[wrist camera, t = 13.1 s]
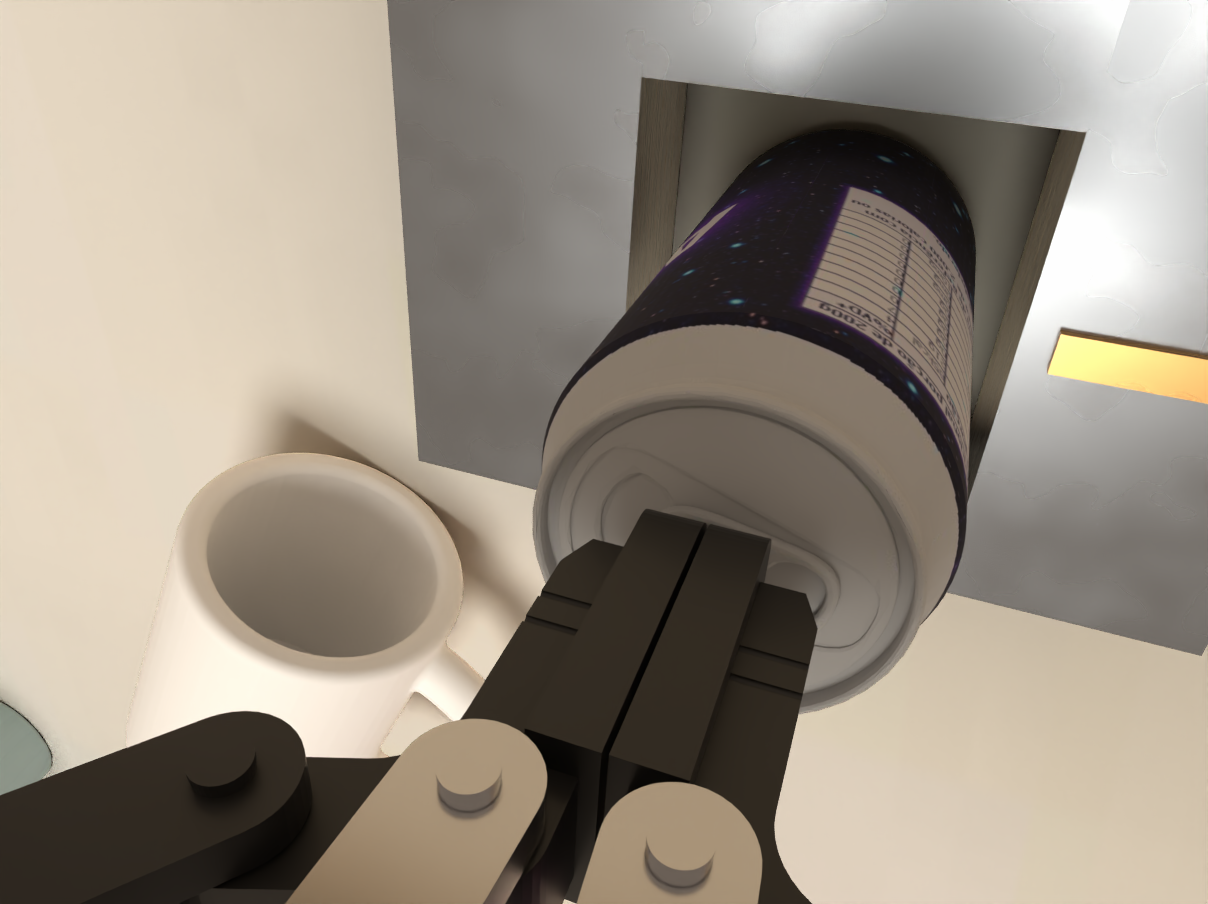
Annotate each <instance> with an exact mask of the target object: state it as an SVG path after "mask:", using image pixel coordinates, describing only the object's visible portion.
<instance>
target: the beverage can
mask: <svg viewBox="0 0 1208 904" xmlns="http://www.w3.org/2000/svg"><path fill="white" fill-rule="evenodd" d="M975 266H976V248H975V238H974V232H973V228H972V224H971V220H970V217H969V214H968V211H967V209H966V207H965V205H964V202H963V200H962V198H961V197H960V195H959V193H958V191H957V190H956V188H955V187H954V186H953V184H952V183H951V181H950V180H949V179H948V178H947V177H946V175H945V174H944V173H943V172H942V171H941V170H940V169H939V168H938V167H937V166H936V165H935V164H934V163H933V162H931V161H930V160H929V159H928V158H927V157H925V156H924V155H922V154H921V153H919V152H918V151H916V150H915V149H913V148H911V147H910V146H908V145H906V144H904V143H902V142H899V141H897V140H894V139H892V138H889V137H886V136H883V135H880V134H876V133H871V132H866V131H858V130H827V131H820V132H814V133H809V134H806V135H802V136H799V137H796V138H793V139H791V140H788V141H786V142H784V143H782V144H779V145H777V146H776V147H774V148H772V149H770V150H769V151H767V152H766V153H764V154H763V155H761V156H760V157H758V158H757V159H756V160H755V161H753V162H752V163H751V164H750V165H749V166H748V167H747V168H746V169H745V170H744V171H743V172H742V173H741V174H740V175H739V176H738V177H737V178H736V179H735V181H734V182H733V183H732V184H731V186H730V187H729V188H728V189H727V190H726V192H725V193H724V194H723V195H722V196H721V198H720V199H719V200H718V201H717V203H716V204H715V205H714V206H713V207H712V209H711V210H710V211H709V212H708V213H707V215H706V216H705V217H704V218H703V220H702V221H701V222H700V223H699V224H698V226H697V227H696V228H695V229H694V230H693V232H692V233H691V234H690V235H689V237H688V238H687V239H686V240H685V241H684V243H683V244H682V245H681V246H680V247H679V249H678V250H677V251H676V252H675V254H674V255H673V256H672V257H671V258H670V260H669V261H668V262H667V263H666V264H665V266H664V267H663V268H662V269H661V271H660V272H659V273H658V274H657V275H656V277H655V278H654V279H653V280H652V281H651V283H650V284H649V285H648V286H647V288H646V289H645V290H644V291H643V292H642V294H641V295H640V296H639V297H638V298H637V300H636V301H635V302H634V303H633V305H632V306H631V307H630V308H629V309H628V311H627V312H626V313H625V314H624V315H623V317H622V318H621V319H620V320H619V321H618V323H617V324H616V325H615V326H614V328H613V329H612V330H611V331H610V332H609V334H608V335H607V336H606V337H605V338H604V340H603V341H602V342H601V343H600V345H599V346H598V347H597V348H596V349H595V351H594V352H593V353H592V354H591V355H590V357H589V358H588V359H587V360H586V362H585V363H584V364H583V365H582V366H581V368H580V369H579V370H578V371H577V372H576V374H575V375H574V376H573V378H572V379H571V380H570V381H569V383H568V384H567V386H566V387H565V389H564V390H563V392H562V393H561V395H560V397H559V399H558V401H557V403H556V405H555V407H554V409H553V412H552V414H551V417H550V419H549V422H548V426H547V429H546V433H545V438H544V443H543V451H542V475H541V477H540V480H539V484H538V487H537V490H536V496H535V501H534V507H533V539H534V545H535V550H536V556H537V560H538V563H539V566H540V569H541V572H542V575H543V578H544V581H545V583H547V581H548V579H549V578H550V576H551V575H552V573H553V571H554V570H555V568H556V567H557V565H558V563H559V562H560V560H562V559H563V558H565V557H566V556H568V555H569V554H571V553H572V552H574V551H575V550H577V549H578V548H580V547H581V546H583V545H584V544H586V543H587V542H589V541H590V540H592V539H596V540H600V541H604V542H608V543H612V544H616V545H620V546H623V547H624V545H625V543H626V541H627V539H628V538H629V536H630V534H631V532H632V530H633V528H634V527H635V525H636V523H637V521H638V519H639V517H640V516H641V514H642V512H643V511H644V510H645V509H651V510H656V511H660V512H664V513H668V514H672V515H676V516H680V517H684V518H688V519H692V520H696V521H700V522H704V523H706V524H707V528H708V526H709V525H710V524H713V525H717V526H721V527H725V528H729V529H734V530H738V531H742V532H746V533H750V534H754V535H758V536H762V537H766V538H770V539H771V549H770V555H769V561H768V566H767V571H766V577H765V582H764V583H767V584H771V585H775V586H779V587H782V588H786V589H790V590H794V591H798V592H802V593H806V595H807V598H808V601H809V604H810V607H811V610H812V613H813V616H814V619H815V622H816V625H817V628H818V630H817V635H816V639H815V644H814V648H813V652H812V657H811V661H810V665H809V670H808V674H807V678H806V683H805V687H804V691H803V696H802V700H801V705H800V709H799V713H798V714H803V713H808V712H814V711H819V710H822V709H825V708H828V707H831V706H834V705H836V704H839V703H842V702H845V701H847V700H849V699H850V698H852V697H854V696H856V695H858V694H860V693H862V692H864V691H866V690H867V689H869V688H870V687H871V686H872V685H874V684H875V683H876V682H878V681H879V680H880V679H881V678H883V677H884V676H885V675H887V674H888V672H889V671H890V670H891V669H892V668H893V667H894V666H895V664H896V663H897V662H898V661H899V660H900V659H901V658H902V656H903V655H904V654H905V652H906V651H907V649H908V648H909V646H910V644H911V642H912V641H913V639H914V637H915V635H916V633H917V630H918V628H919V626H920V625H921V624H922V623H923V622H924V621H925V620H926V619H927V618H928V616H929V615H930V614H931V613H932V612H933V611H934V609H935V608H936V607H937V606H938V604H939V603H940V601H941V600H942V599H943V597H944V596H945V594H946V592H947V591H948V589H949V587H950V585H951V583H952V581H953V579H954V577H955V574H956V572H957V570H958V567H959V563H960V560H961V557H962V553H963V548H964V544H965V536H966V524H967V495H968V467H969V438H970V409H971V380H972V352H973V323H974V294H975Z"/></svg>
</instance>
